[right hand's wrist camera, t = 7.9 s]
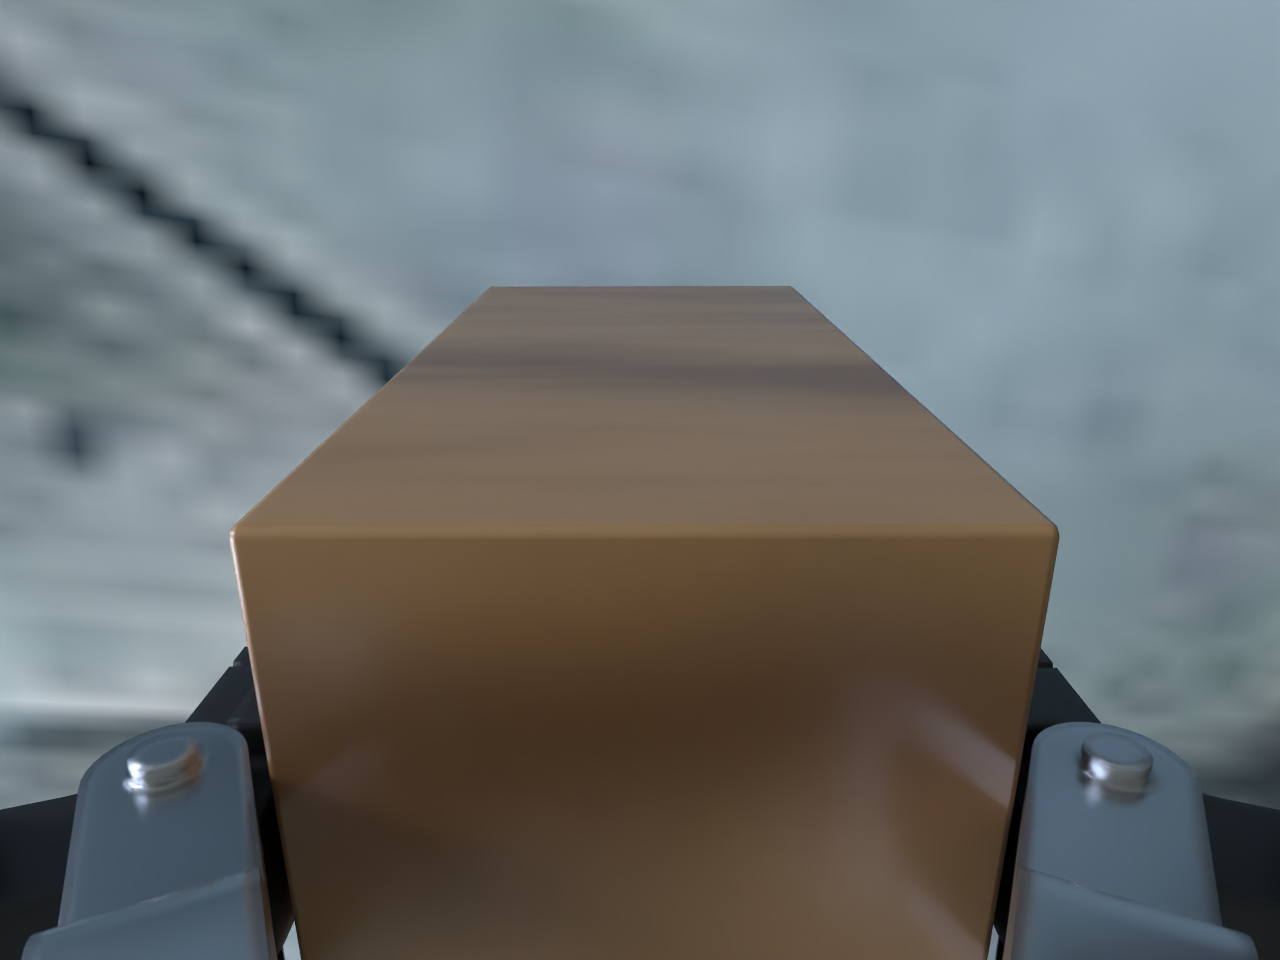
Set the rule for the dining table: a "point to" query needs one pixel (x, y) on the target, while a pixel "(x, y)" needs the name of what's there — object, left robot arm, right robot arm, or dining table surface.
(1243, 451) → the dining table surface
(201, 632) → the dining table surface
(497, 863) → the box
